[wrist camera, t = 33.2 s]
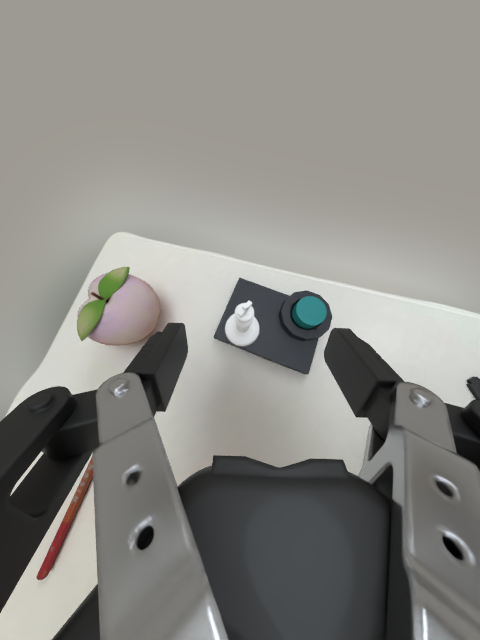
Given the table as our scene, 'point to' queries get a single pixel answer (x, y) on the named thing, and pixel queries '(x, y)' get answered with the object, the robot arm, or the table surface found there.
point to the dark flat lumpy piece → (474, 386)
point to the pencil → (66, 522)
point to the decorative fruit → (118, 309)
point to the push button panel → (276, 325)
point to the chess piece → (242, 325)
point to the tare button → (309, 312)
